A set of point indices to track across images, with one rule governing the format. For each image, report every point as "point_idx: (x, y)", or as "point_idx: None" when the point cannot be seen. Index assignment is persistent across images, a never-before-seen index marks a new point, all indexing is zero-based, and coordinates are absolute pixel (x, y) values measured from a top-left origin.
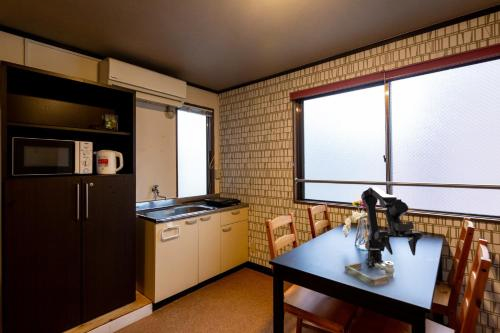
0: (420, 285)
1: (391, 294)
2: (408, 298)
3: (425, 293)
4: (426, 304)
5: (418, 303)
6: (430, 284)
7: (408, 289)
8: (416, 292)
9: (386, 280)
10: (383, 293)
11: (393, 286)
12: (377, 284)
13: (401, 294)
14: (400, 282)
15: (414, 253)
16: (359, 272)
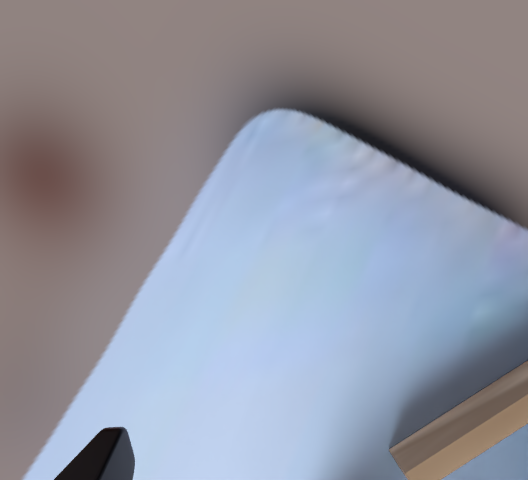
0: (136, 427)
1: (439, 233)
2: (333, 193)
3: (168, 290)
4: (244, 131)
5: (293, 135)
6: (40, 460)
7: (270, 337)
8: (230, 295)
9: (420, 441)
10: (497, 239)
11: (374, 374)
12: (512, 374)
13: (361, 245)
14: (283, 463)
15: (99, 450)
16: None
